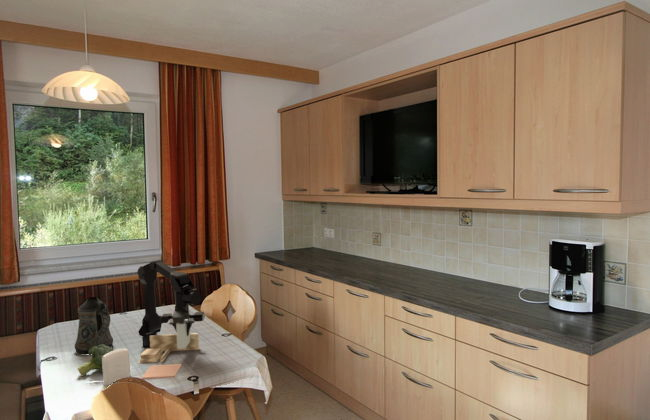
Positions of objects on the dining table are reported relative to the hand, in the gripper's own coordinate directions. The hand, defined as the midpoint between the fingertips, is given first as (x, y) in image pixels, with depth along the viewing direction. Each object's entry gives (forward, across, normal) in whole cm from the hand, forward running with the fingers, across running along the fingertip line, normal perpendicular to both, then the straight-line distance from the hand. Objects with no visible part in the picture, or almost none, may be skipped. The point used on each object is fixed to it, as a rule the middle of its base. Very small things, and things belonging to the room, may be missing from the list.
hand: (183, 336), depth 198 cm
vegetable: (+10, -32, -13) cm, 36 cm away
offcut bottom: (+10, -14, -2) cm, 18 cm away
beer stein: (+10, -45, +16) cm, 49 cm away
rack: (+9, -6, 0) cm, 11 cm away
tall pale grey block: (+4, 0, 0) cm, 4 cm away
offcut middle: (+9, -14, -2) cm, 17 cm away
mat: (+9, -5, -16) cm, 19 cm away
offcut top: (+7, -14, -2) cm, 16 cm away
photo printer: (+10, -21, -22) cm, 32 cm away
